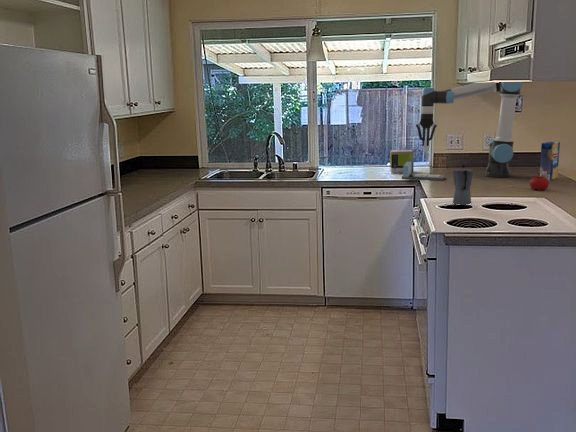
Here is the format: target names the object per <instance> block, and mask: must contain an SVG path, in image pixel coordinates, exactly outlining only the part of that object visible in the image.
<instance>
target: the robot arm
mask: <svg viewBox="0 0 576 432" xmlns="http://www.w3.org/2000/svg"><path fill="white" fill-rule="evenodd" d="M523 83H524V81H523V82H499V83H477V82H473V83H470V84H465V85H461V86H457V87H453V88H448V89H445V90H435V88H434V87H423V88H422V89H421V104H420V113H421V114H420V121H419V123H417V124H415V126H416V129H417V132H418V133H417V134H418V137H419V140H420V141H422V146H423V152H424V153H425V152H428V147H430V141H432V140H433V138H434V135H435V132H436V128H437V127H438V124H435V121H434V110H435V109H434V106H435V104H446V105H447V104H454V103H455V101H457V100H462V99H466V98H471V97H475V96H478V95H483V94H487V93H491V92H495V93H499V96H500V97H501V100H500V107H499V115H498V121H497V122H498V123H497V132H496V137H495V138H494V139H490V140H489V144H488V146H489V148H488V149H489V150H488V151H489V152H488V164H487V166H486V170H485V173H484V175H485V177H490V178H508V177H511V171H510V168H509V167H510V166H509V162H510V161H511V160H512V159H513V157H514V149H513V148H514V139H513V138H512V135H513V128H514V123H515V122H514V121H515V113H516V105H517V98H518V97H519V96H520V95H521V88H522V86H523ZM421 127H422V130H421ZM431 128H432V130H431ZM430 131H431V133H430Z"/></svg>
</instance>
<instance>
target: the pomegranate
mask: <svg viewBox="0 0 576 432" xmlns="http://www.w3.org/2000/svg"><path fill="white" fill-rule="evenodd" d="M537 174H538V175H535V176H533V177H532V178H531V179H530V180H529V187H530V189H531V190H532V189H537V190H536V191H545V190H547V189H548V188H549V185H550V180H548V179H547V178H544V177H545V176H543V177H542V176H541V177H540V172H538V173H537Z"/></svg>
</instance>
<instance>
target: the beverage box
mask: <svg viewBox="0 0 576 432" xmlns="http://www.w3.org/2000/svg"><path fill="white" fill-rule="evenodd" d="M540 146H541V147H540V160H539V161H540V163H539V173H540V177H541V176H542V177H543V176H545V177H544V178H547V179H548V180H549V181H552V179H553V180H554V179H555V178H556V179H558V175H559V174H558V173H559V163H560V161H559V160H560V150H561V149H560V148H561V147H560V146H561V142H557V141H547V142H546V141H544V142H541V145H540Z"/></svg>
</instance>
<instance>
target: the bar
mask: <svg viewBox="0 0 576 432" xmlns="http://www.w3.org/2000/svg"><path fill="white" fill-rule="evenodd" d="M411 173H412V174H414V172H413V161H407V162H406V164H405V165H403V173H402V176H403V177H409V175H410V174H411Z"/></svg>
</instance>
